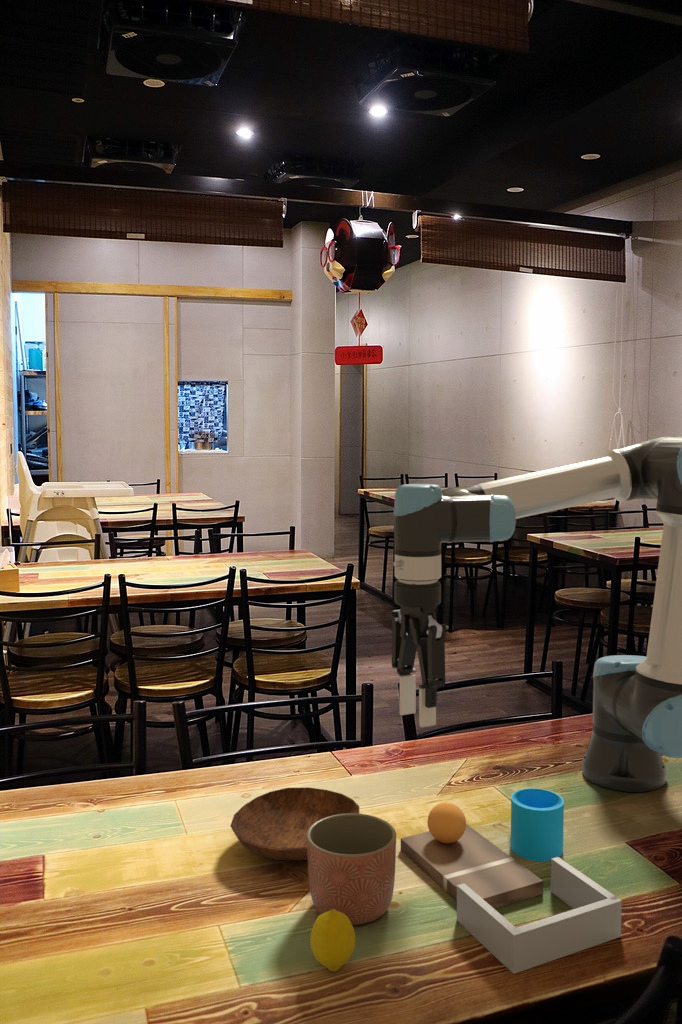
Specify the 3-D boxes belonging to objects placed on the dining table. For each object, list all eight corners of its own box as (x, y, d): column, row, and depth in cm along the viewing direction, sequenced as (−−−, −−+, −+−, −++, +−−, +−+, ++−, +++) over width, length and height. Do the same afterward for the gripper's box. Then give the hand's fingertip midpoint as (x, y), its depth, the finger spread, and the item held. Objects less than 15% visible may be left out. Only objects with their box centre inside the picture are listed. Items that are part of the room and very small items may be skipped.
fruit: (340, 950, 109) (339, 890, 108) (364, 973, 104) (363, 911, 103) (302, 965, 106) (301, 904, 105) (325, 989, 101) (325, 926, 100)
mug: (573, 857, 132) (574, 806, 131) (525, 864, 130) (525, 813, 129) (535, 822, 143) (536, 776, 142) (491, 829, 141) (491, 781, 140)
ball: (452, 828, 137) (452, 793, 136) (473, 845, 132) (473, 808, 131) (420, 836, 134) (420, 800, 134) (440, 853, 129) (440, 816, 128)
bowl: (379, 827, 142) (379, 798, 142) (321, 893, 122) (321, 859, 122) (276, 806, 150) (276, 779, 150) (206, 864, 131) (205, 833, 130)
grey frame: (557, 889, 123) (558, 856, 122) (620, 936, 111) (621, 900, 111) (456, 920, 115) (456, 885, 115) (513, 973, 104) (514, 935, 103)
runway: (464, 834, 139) (464, 822, 139) (542, 894, 121) (543, 880, 121) (400, 850, 134) (400, 838, 134) (472, 915, 116) (472, 901, 116)
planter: (408, 895, 121) (408, 822, 120) (376, 943, 110) (376, 863, 109) (330, 877, 127) (329, 806, 125) (291, 921, 115) (290, 844, 114)
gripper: (370, 573, 144) (370, 706, 146) (427, 592, 127) (427, 742, 129) (408, 569, 147) (408, 699, 149) (469, 587, 130) (468, 734, 133)
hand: (417, 719), depth 139 cm, fingers open, 6 cm apart
